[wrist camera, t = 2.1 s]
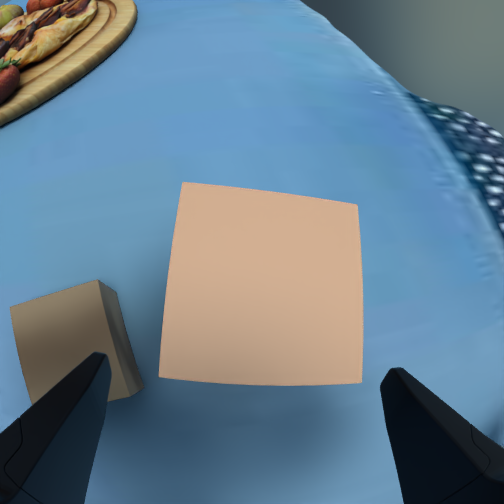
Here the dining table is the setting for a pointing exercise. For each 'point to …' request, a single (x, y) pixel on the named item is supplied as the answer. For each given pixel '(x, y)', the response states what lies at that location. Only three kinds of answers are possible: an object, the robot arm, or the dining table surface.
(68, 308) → the walnut block
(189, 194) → the peach block
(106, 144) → the dining table surface
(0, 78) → the wooden plate with food
